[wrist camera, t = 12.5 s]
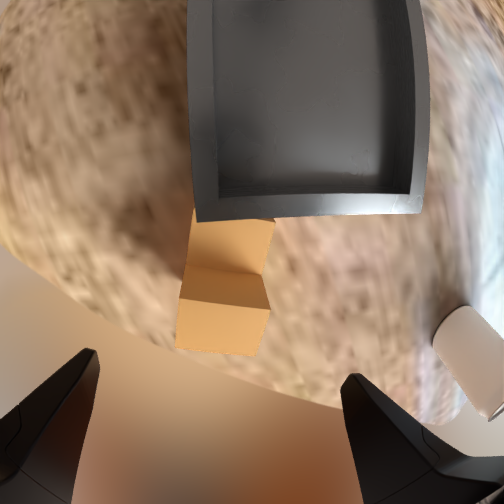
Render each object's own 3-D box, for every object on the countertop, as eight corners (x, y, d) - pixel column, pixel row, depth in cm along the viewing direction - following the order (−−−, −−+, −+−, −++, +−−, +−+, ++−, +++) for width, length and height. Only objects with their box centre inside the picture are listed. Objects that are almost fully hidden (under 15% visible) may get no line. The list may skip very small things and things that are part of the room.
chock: (244, 290, 19) (255, 356, 13) (185, 282, 18) (174, 347, 13) (266, 205, 16) (290, 248, 11) (198, 193, 16) (187, 232, 10)
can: (448, 303, 22) (518, 384, 12) (479, 302, 23) (540, 368, 13) (421, 352, 25) (474, 433, 14) (454, 345, 26) (503, 413, 15)
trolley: (200, -30, 9) (194, -93, 3) (348, -18, 10) (402, -59, 4) (206, 194, 16) (198, 241, 10) (355, 189, 16) (418, 228, 10)
